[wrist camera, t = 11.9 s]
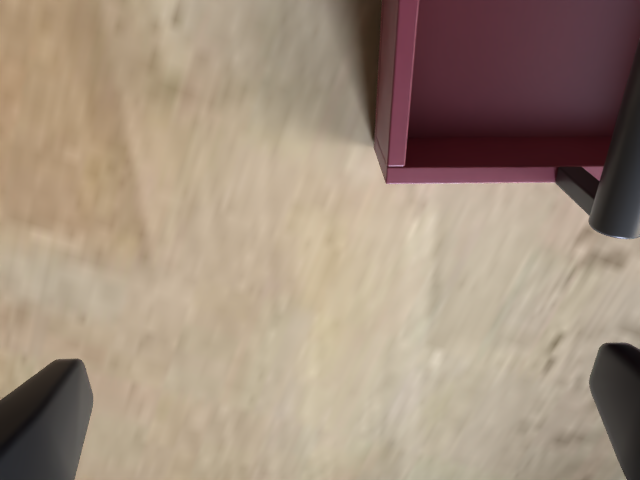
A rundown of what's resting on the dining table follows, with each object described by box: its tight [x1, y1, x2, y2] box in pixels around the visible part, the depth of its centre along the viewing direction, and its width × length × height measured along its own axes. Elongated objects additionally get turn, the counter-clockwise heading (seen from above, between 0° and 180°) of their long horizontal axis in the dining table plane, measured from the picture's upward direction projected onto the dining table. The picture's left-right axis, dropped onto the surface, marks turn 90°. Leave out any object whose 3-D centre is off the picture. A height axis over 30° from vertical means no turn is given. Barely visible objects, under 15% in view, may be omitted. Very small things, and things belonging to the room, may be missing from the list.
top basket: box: [374, 0, 640, 239], centre depth 15 cm, size 12×10×7 cm
